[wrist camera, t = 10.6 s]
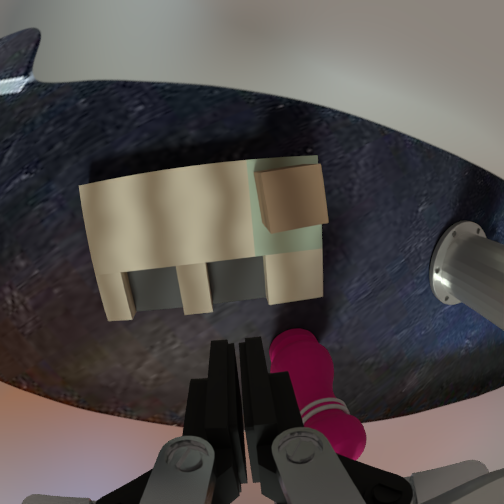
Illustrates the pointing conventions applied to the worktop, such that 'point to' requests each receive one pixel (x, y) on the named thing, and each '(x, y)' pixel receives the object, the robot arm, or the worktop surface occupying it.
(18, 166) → the worktop surface
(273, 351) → the pepper mill
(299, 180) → the walnut block
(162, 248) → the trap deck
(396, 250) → the worktop surface
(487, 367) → the worktop surface
